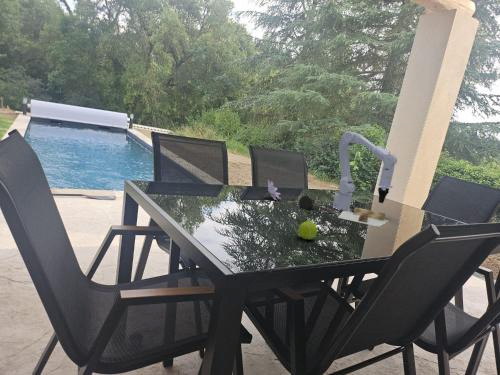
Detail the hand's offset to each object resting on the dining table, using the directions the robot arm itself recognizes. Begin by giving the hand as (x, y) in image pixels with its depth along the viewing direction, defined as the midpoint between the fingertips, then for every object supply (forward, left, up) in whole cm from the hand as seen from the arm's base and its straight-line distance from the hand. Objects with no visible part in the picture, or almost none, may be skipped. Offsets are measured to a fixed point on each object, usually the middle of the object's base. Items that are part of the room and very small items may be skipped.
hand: (381, 201), depth 205 cm
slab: (-6, -11, -10) cm, 16 cm away
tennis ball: (-23, -71, -10) cm, 76 cm away
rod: (-4, -3, -9) cm, 10 cm away
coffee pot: (-31, -13, -10) cm, 35 cm away
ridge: (-6, -15, -9) cm, 19 cm away
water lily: (-57, -9, -10) cm, 59 cm away
